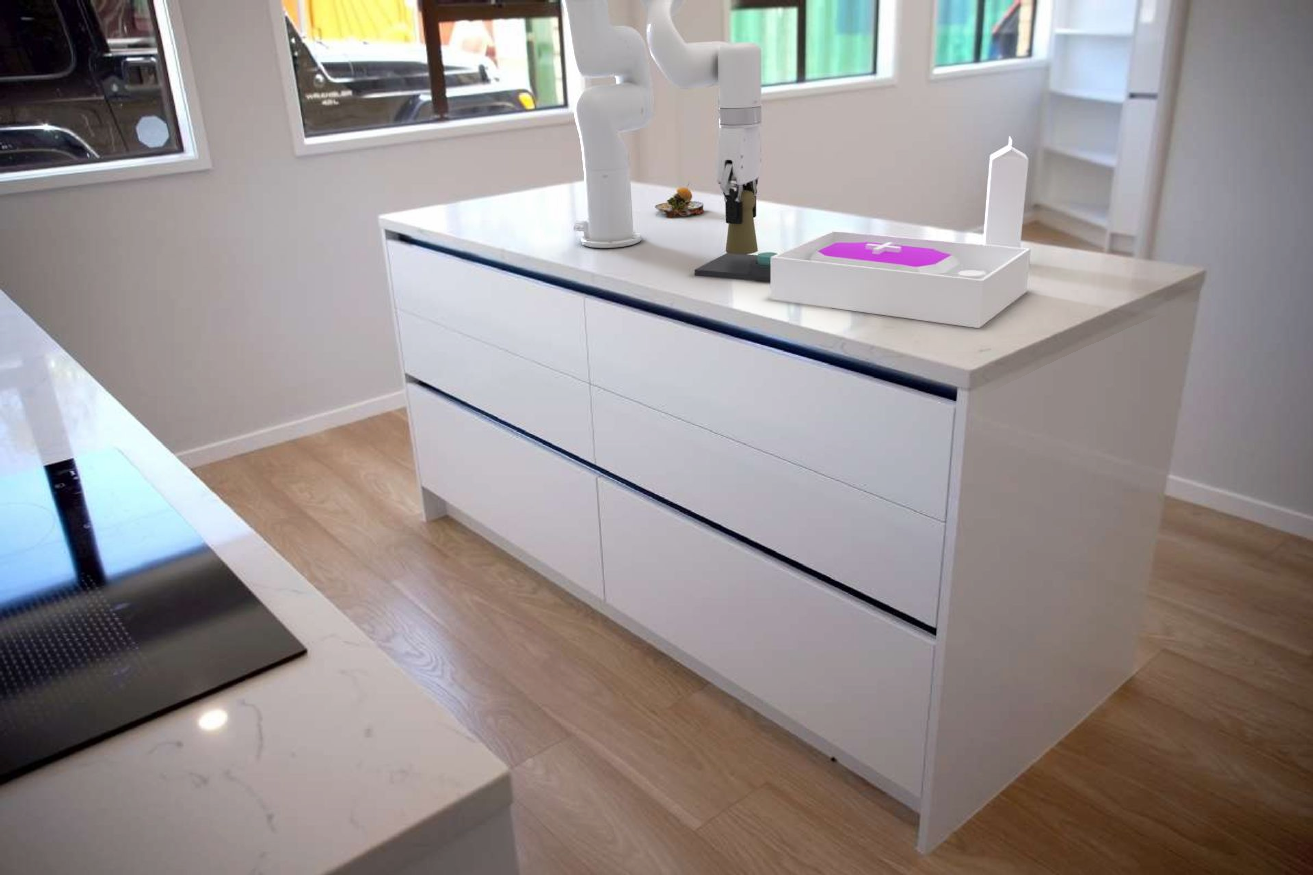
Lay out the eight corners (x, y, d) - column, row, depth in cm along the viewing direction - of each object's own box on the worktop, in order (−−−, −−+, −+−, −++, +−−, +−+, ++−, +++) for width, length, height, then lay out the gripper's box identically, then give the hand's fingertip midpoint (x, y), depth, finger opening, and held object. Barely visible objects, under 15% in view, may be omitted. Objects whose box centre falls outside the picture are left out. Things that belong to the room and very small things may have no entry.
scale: (692, 277, 182) (692, 260, 180) (727, 258, 193) (726, 243, 192) (777, 284, 174) (777, 267, 173) (808, 265, 186) (808, 249, 184)
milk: (982, 268, 178) (992, 141, 169) (981, 260, 183) (990, 136, 174) (1019, 269, 176) (1030, 140, 167) (1016, 260, 181) (1027, 135, 173)
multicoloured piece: (673, 206, 246) (672, 176, 243) (713, 210, 240) (712, 178, 237) (644, 215, 237) (643, 183, 235) (685, 219, 231) (684, 186, 228)
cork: (756, 254, 182) (755, 193, 178) (723, 254, 184) (722, 194, 179) (759, 247, 188) (759, 188, 183) (727, 247, 189) (726, 188, 185)
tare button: (754, 265, 176) (754, 256, 176) (762, 261, 179) (762, 251, 179) (773, 267, 175) (773, 257, 174) (781, 262, 178) (781, 253, 177)
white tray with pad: (978, 328, 146) (983, 279, 143) (770, 299, 165) (770, 255, 162) (1026, 291, 162) (1030, 247, 160) (831, 269, 182) (832, 229, 179)
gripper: (740, 112, 185) (741, 210, 192) (699, 123, 171) (702, 228, 178) (778, 112, 181) (778, 212, 189) (739, 123, 168) (740, 231, 175)
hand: (741, 219), depth 183 cm, fingers closed on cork, 5 cm apart
